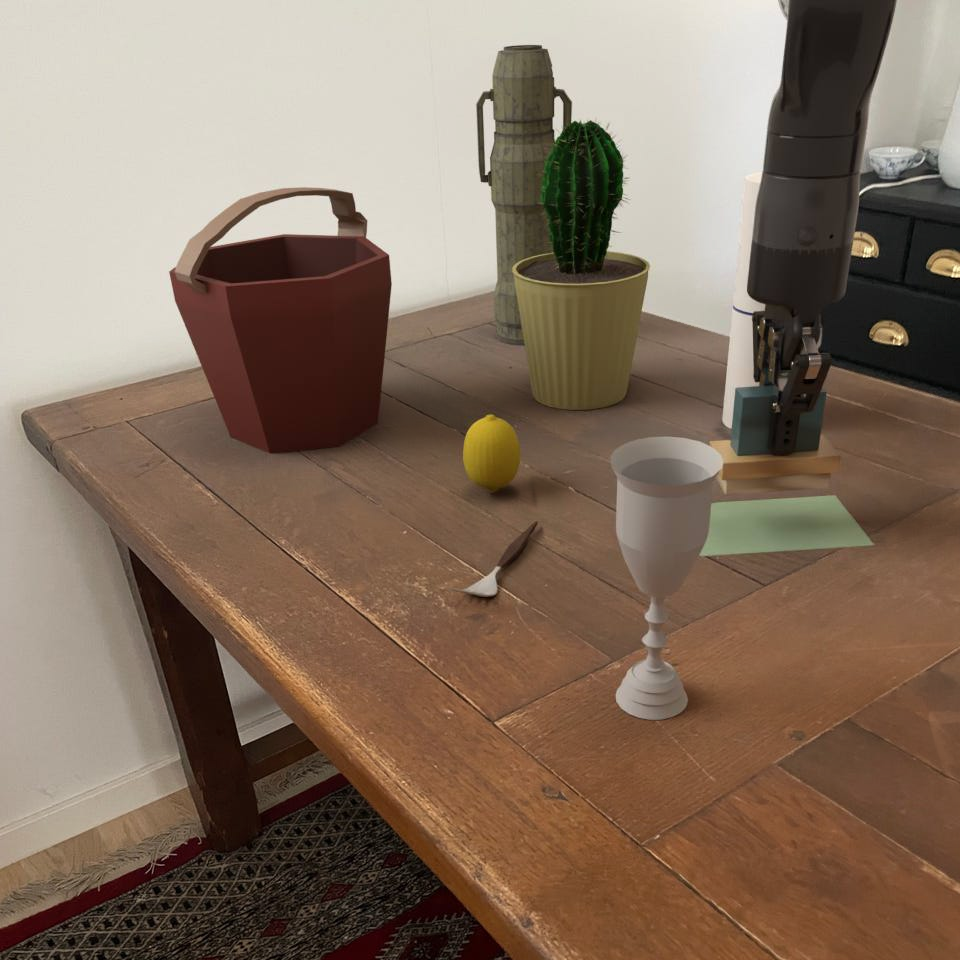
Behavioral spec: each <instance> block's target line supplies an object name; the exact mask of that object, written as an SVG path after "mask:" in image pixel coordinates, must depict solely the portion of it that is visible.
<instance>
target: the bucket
mask: <svg viewBox="0 0 960 960" xmlns="http://www.w3.org/2000/svg"><path fill="white" fill-rule="evenodd" d="M309 196H310V197H311V196H314V197H315V196H319V197H320V196H321V197H328V198H329V202H330V205H331V212H332V214H333V215H334V216H335V217H336V219H337V235H328V234H325V235H323V234H293V233H291V234H290V233H282V234H276V235H272V236H265V237H260V238H255V239H247V240H243V241H242V240H241V241H236V242H232V243H225V244H224V243H223V244H219V245H215V244H216V243H218V242H219V241H220V240H221V239H223V238H224V237H225V236H226V235H227V234H228V233H229V232H230V230H231V229H233V228H234V227H235V226H237V224H239V223H240V222H242V221H243V220H244V219H245V218H246V217H248V216H249V215H251V214H252V213H253V212H255V211H256V210H257V209H259V208H260V207H262V206H266V205H268V204H270V203H271V204H272V203H274V202H277V201H281V200H285V199H290V198H295V197H309ZM367 234H368V219H367V218H366V217H365V216H364V215H363V213H361V212H360V211H357V208H356V201H355V198H354V194H353V192H348V191H344V190H339V189H335V188H324V187H305V186H303V187H301V186H300V187H283V188H282V187H281V188H278V189H277V188H276V189H272V190H266V191H261V192H257V193H254V194H251V195H247V196H245V197H241V198H240V199H238V200H236V201H235V202H234V203H232V204H231V205H230V206H228V207H226V208H225V209H224V210H223V211H222V212H220V213H219V214H218V215H217V216H215V217H214V218H212V219H211V220H210V221H209V222H208V223H207V224H206V225H205V226H204V227H203V228H202V229H201V230H200V231H199V232H197V233H196V234H195V235H193V236H192V237H190V238H189V240H188V242H187V243H186V245H185V247H184V250H183V251H182V252H181V254H180V257H179V259H178V261H177V264H176V266H175V267H173V268H172V269H171V270H169V271H168V275H169V279H170V282H171V287H172V293H173V297H174V302H175V304H176V307H177V309H178V312H179V314H180V317H181V320H182V321H183V324H184V327H185V329H186V331H187V334H188V337H189V338H190V341H191V344H192V345H193V348H194V351H195V354H196V355H197V359H198V361H199V363H200V365H201V367H202V371H203V373H204V375H205V378H206V380H207V383H208V386H209V388H210V390H211V392H212V394H213V397H214V400H215V402H216V405H217V407H218V410H219V412H220V415H221V417H222V419H223V422H224V424H225V426H226V429H227V431H228V434H229V437H231V438H233V439H235V440H238V441H240V442H242V443H245V444H247V445H250V446H252V447H254V448H256V449H257V448H258V450H262V451H264V452H266V453H269V454H272V453H273V454H274V453H284V452H295V451H307V450H317V449H318V450H319V449H327V448H329V449H330V448H338V447H341V446H342V445H343V444H345V443H348V442H349V441H351V440H352V439H354V438H356V437H358V436H359V435H361V434H363V433H364V432H366V431H368V430H369V429H371V428H373V427H374V426H377V425H378V424H379V419H380V418H379V417H380V410H381V409H380V408H381V399H382V389H383V388H382V387H383V378H384V367H385V356H386V347H387V336H388V327H389V317H390V316H389V315H390V307H391V295H392V285H393V284H392V270H391V260H390V255H389V253H388V252H386V251H385V250H384V249H382V248H380V247H379V246H378V245H377V244H375V243H374V242H372V241H371V240H370V239H368V238H367Z"/></svg>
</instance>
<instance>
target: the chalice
mask: <svg viewBox="0 0 960 960" xmlns="http://www.w3.org/2000/svg"><path fill="white" fill-rule="evenodd" d="M611 453H612V454H611V455H610V457H609V459H610V465H611V467H612V470H613V471H614V474H615V475H616V478H617V479H616V480H617V482H616V483H617V484H616V511H615V532H616V538H617V540H618V544H619V546H620V550H621V553H622V557H623V560H624V561H625V564H626V566H627V568H628V570H629V572H630V574H631V576H632V578H633V580H634V582H635V584H636V586H637V589H638V590H639V591H640V592H641V593H643V594H645V595H647V596H649V597H650V605H649V608H648V611H646V613H645V614H644V619H645V620H646V621H647V623H648V627H649V628H648V631H647V633H646V634H645V635H643V636H642V639H641V641H642V643H643V644H644V645H645V646H646V649H647V656H646V658H645V659H643V660H640V661H638V662H636V663H634V664H633V666H631V667H629V669H628V670H627V671H626V674H625V676H624V678H623V679H622V681H621V683H620V686H619V687H617V690H616V692H615V702H616V703H617V705H618V706H619V708H620V709H621V710H622V711H624V712H625V713H627V714H628V715H631V716H633V717H636V718H639V719H643V720H644V719H645V720H649V721H650V720H651V721H654V720H655V721H656V720H667V719H669V718H670V719H671V718H673V717H675V716H677V715H679V714H681V713H682V712H683V711H685V709H686V708H687V705H688V702H689V699H688V695H687V692H686V690H685V688H684V685H683V682H682V680H681V678H680V673H679V672H677V670H676V669H675V668H674V667H673V666H672V665H671V664H670V663H668V662H666V661H663V660H662V655H661V653H662V650H663V647H665V646H667V645H668V642H669V639H668V637H667V636H666V635H665V634H664V631H663V628H664V625H665V623H666V622H667V621H668V620H669V614H668V613H667V612H666V607H665V600H666V597H669V596H672V595H674V594H676V593H677V592H678V591H679V590H680V588H681V587H682V586H683V584H684V582H685V581H686V580H687V578H688V576H689V575H690V573H691V571H692V570H693V568H694V567H695V566H696V564H697V562H698V559H699V555H700V553H701V551H702V549H703V547H704V544H705V542H706V540H707V537H708V534H709V525H710V514H711V503H713V502H712V501H713V489H714V481H715V480H716V476H717V475H718V473H719V472H720V470H721V468H722V465H723V462H724V461H723V459H722V456H721V454H720V453H719V452H718V451H716V450H715V449H714V448H713V447H711V446H709V444H706V443H704V442H702V441H699V440H695V439H690V438H687V437H677V436H650V437H644V438H639V439H634V440H631V441H629V442H626V443H623V444H621V445H620V446H618V447H617V448H616V449H614V450H613V452H611Z"/></svg>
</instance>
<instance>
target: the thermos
mask: <svg viewBox="0 0 960 960" xmlns="http://www.w3.org/2000/svg"><path fill="white" fill-rule="evenodd" d="M491 75H492V76H491V78H492V88H490V89H489V90H486V91H483V92H482V93H481V95H480V96H479V98H478V100H477V101H476V104H475V108H476V132H477V133H476V135H477V136H476V137H477V160H478V161H477V163H478V173H479V179H480V183H484V184H485V183H487V184H488V187H490V199H491V200H490V201H491V203H492V205H493V207H494V210H495V211H494V214H495V241H496V242H495V244H496V246H495V247H496V271H497V272H496V274H497V280H496V283H495V289H494V293H493V307H494V308H493V309H494V310H493V311H494V319H495V322H496V331H495V332H496V333H495V335H496V339H497V340H499V341H500V342H502V343H506V344H509V345H518V346H525V344H524V338H523V331H522V325H521V319H520V313H519V306H518V300H517V294H516V288H515V281H514V273H513V272H512V267H513V266H514V265H515V264H516V263H518V262H519V261H522V260H524V259H527V258H530V257H533V256H537V255H542V254H548V253H552V252H553V248H552V245H550V244H551V243H544V242H550V235H548V233H549V231H548V230H549V228H548V221H546V220H548V216H547V214H546V212H545V210H544V208H543V207H542V206H543V205H542V204H535V203H540V202H541V199H539V198H541V187H542V185H543V184H542V178H543V176H542V175H541V174H543V173H544V172H543V171H544V168H545V162H546V160H547V158H548V156H549V153H550V154H551V153H552V150H553V145H552V143H554V142H556V141H554V140H555V128H554V118H555V99H556V98H558V97H559V99H560V100H561V102H562V111H563V112H562V128H565V127H566V125H568V124H570V123H572V117H573V116H572V115H573V114H572V113H573V101H572V100H571V98H570V97H569V96H568V93H566V91H565V89H564V88H563V89H562V88H561V89H560V88H557V87H556V86H555V77H554V72H553V63H552V59H551V56H550V53H549V49H548V48H543V45H542V44H518V45H508V46H503V49H502V50H499V51H497V54H496V58H495V62H494V66H493V70H492V74H491ZM486 100H490V102H492V111H493V112H492V114H493V120H494V123H495V130H494V132H493V145H492V148H491V153H490V156H489V168H490V170H489V171H488V172H487V174H486V160H485V159H486V156H485V155H486V153H485V152H486V151H485V150H486V149H485V128H484V127H485V125H484V124H485V123H484V105H485V102H486ZM566 119H567V122H566ZM568 121H569V122H568ZM553 139H554V140H553ZM551 142H552V143H551ZM550 143H551V144H550ZM545 145H546V146H547V147H545ZM548 146H549V147H550V149H549V148H548ZM551 147H552V149H551ZM547 151H548V152H549V153H548V152H547ZM544 157H545V158H546V159H544ZM544 161H545V162H544ZM536 172H537V173H536ZM539 173H541V174H539ZM536 174H538V175H536ZM539 175H541V176H539ZM538 186H540V187H538ZM537 205H538V206H537ZM539 207H541V208H539ZM537 208H538V209H537ZM543 210H544V211H543ZM542 211H543V212H542ZM543 213H544V214H545V215H544V214H543ZM541 214H543V215H541ZM540 215H541V216H540ZM539 216H540V217H539ZM543 217H544V218H543ZM542 218H543V219H542ZM541 219H542V220H541ZM540 220H541V221H540ZM545 225H546V226H545ZM549 234H550V233H549ZM547 235H548V236H547ZM545 236H546V237H545ZM550 247H551V248H550ZM549 248H550V249H549ZM547 249H548V250H547ZM546 250H547V251H546ZM553 253H554V252H553Z"/></svg>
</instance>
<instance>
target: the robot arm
mask: <svg viewBox="0 0 960 960" xmlns="http://www.w3.org/2000/svg"><path fill="white" fill-rule="evenodd" d="M777 1H778V5H779V9H780V11H781V13H782V15H783V17H784V18H785V20H786V30H785V40H784V48H783V55H782V66H781V75H780V76H781V77H780V83H779V86H778V88H777V89H776V91H775V93H774V95H773V97H772V99H771V103H770V108H769V112H768V118H767V126H766V134H765V145H764V154H763V162H762V163H763V164H762V171H761V172H762V177H761V182H760V186H759V190H758V194H757V199H756V205H755V214H754V224H753V233H752V243H751V252H750V262H749V272H748V281H747V293H748V295H749V296H750V297H751V298H752V299H753V300H755V301H757V302H759V303H762V304H765V310H764V311H754V313H753V316H752V324H753V364H754V374H753V377H754V381H755V382H760V383H759V386H769V385H774V387H773V399H772V414H771V422H770V430H769V438H768V446H767V449H768V451H769V452H770V453H771V454H772V455H785V454H791V453H793V452H794V451H795V448H796V441H797V433H798V426H799V419H800V413H804V412H812V411H813V409H814V407H815V404H816V401H817V399H818V396H819V394H820V391H821V389H822V388H823V387H824V384H825V382H826V379H827V377H828V374H829V371H830V369H831V365H832V356H831V353H830V352H822V353H820V352H819V349H820V347H821V345H822V340H823V326H822V324H821V318H822V316H821V312H822V311H823V310H824V309H825V308H826V307H827V306H829V305H834V304H837V303H838V302H839V301H841V300H842V299H843V298H844V297H845V294H846V291H847V283H848V278H849V271H850V265H851V259H852V254H853V253H852V252H853V247H854V246H853V245H854V240H855V239H854V238H855V233H856V228H857V227H856V226H857V220H858V215H859V207H860V184H861V182H860V181H861V171H862V166H863V165H862V164H863V158H864V152H865V146H866V139H867V134H868V132H867V130H868V127H869V126H868V125H869V116H870V105H871V100H872V99H871V98H872V94H873V91H874V88H875V85H876V83H877V82H876V81H877V79H878V76H879V72H880V69H881V65H882V62H883V59H884V55H885V52H886V49H887V44H888V41H889V36H890V33H891V30H892V25H893V21H894V18H895V13H896V7H897V4H898V3H897V1H898V0H777ZM768 357H769V358H768ZM784 387H785V388H784ZM783 390H784V391H783ZM795 396H796V397H795Z"/></svg>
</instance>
